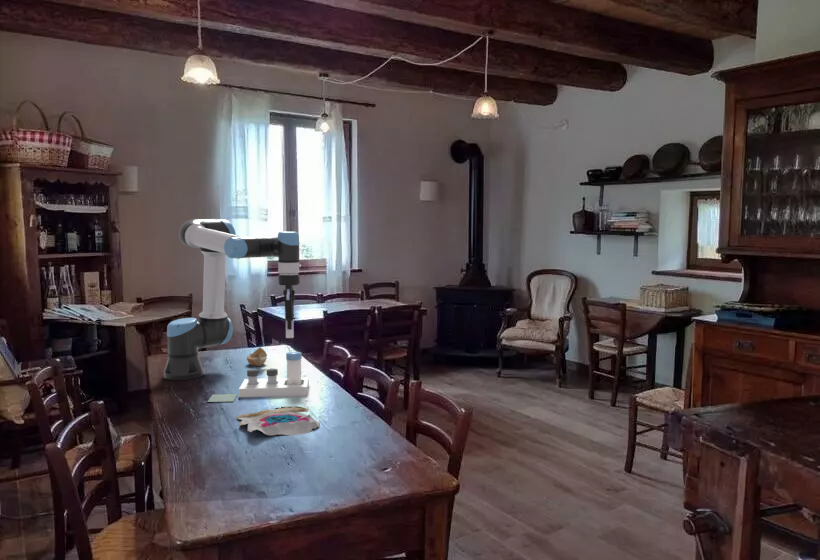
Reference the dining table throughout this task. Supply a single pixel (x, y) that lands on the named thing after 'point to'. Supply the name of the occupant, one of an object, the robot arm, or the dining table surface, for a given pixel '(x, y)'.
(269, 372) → the plunger
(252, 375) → the plunger
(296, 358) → the cylinder
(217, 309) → the robot arm
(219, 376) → the dining table surface
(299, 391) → the white tube rack
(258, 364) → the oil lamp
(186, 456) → the dining table surface
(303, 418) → the rumpled printed cloth
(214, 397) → the mat
